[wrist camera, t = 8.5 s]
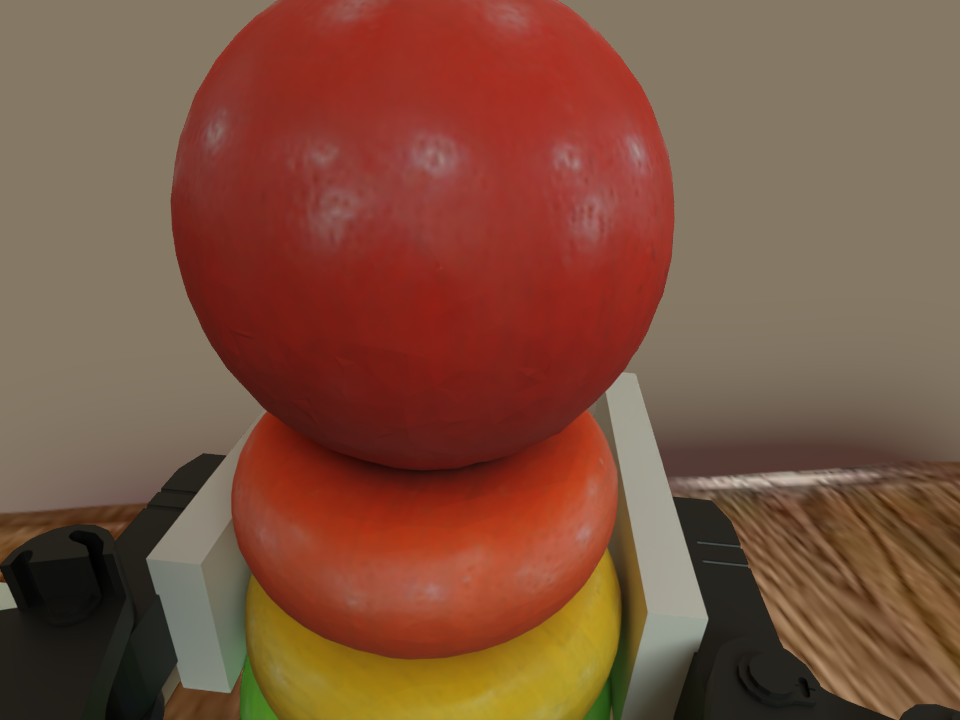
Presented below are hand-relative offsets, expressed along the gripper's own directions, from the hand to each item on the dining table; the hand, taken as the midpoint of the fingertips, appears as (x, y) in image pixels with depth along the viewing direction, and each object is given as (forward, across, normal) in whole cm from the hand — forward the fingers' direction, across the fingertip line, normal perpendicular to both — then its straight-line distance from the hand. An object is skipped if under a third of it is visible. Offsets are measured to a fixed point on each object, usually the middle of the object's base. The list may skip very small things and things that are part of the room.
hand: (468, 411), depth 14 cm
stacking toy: (-5, 0, -11) cm, 12 cm away
